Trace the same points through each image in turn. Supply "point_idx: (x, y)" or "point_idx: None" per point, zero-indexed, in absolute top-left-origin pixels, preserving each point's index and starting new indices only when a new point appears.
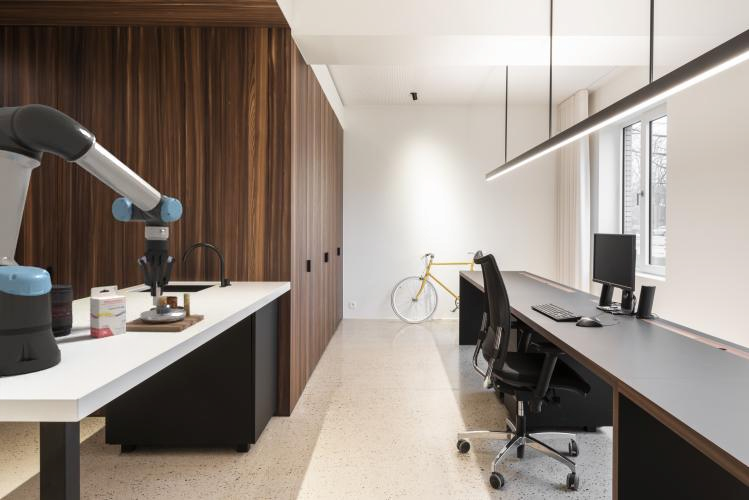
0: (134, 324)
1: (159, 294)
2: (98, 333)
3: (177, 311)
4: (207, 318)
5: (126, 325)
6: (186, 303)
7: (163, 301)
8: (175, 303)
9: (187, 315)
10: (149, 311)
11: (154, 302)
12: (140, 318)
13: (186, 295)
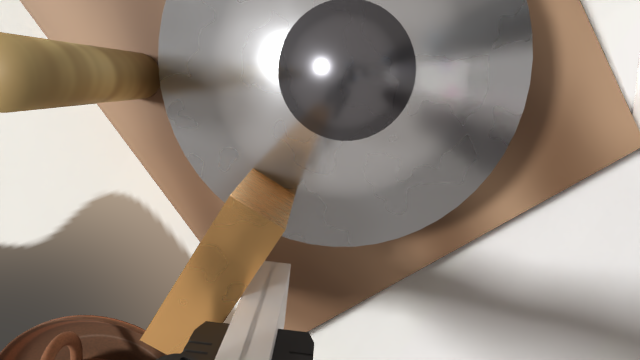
0: (551, 106)
1: (242, 318)
2: None
3: (244, 7)
4: (11, 6)
5: (601, 120)
6: (92, 49)
7: (263, 202)
8: (53, 357)
9: (141, 54)
10: (387, 207)
11: (284, 312)
12: (396, 264)
13: (29, 41)
